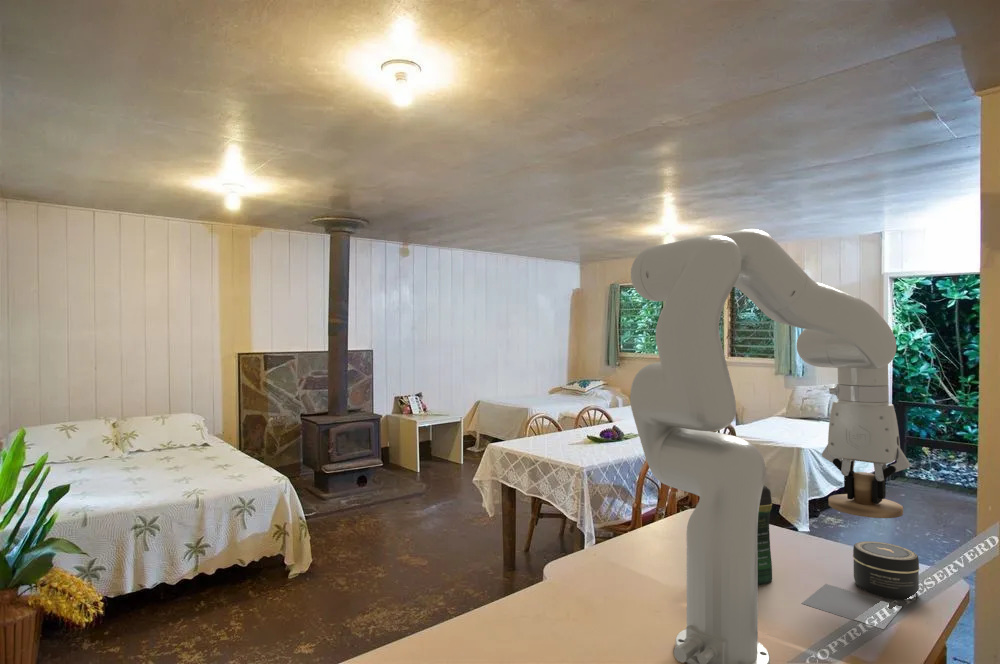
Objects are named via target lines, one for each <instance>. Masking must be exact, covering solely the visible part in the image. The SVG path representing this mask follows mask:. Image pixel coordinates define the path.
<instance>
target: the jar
mask: <svg viewBox="0 0 1000 664" xmlns="http://www.w3.org/2000/svg"><path fill="white" fill-rule="evenodd" d="M852 547H853V551H852V553H853V554H852V558H853V579H854V582H855V585H856V586H857V587H858V589H860V590H861V591H864V592H865V593H868V594H871V595H873V596H877V597H879V598H883V599H888V598H889V599H890V600H896V601H905V600H904V599H907V598H909V597H910V596H912V595H914V594H915V593H916V592H917V591H918V592H919V586H920V583H919V582H920V581H919V580H920V579H919V578H920V576H919V574H920V573H919V571H920V563H919V562H920V561H919V556H918V554H916V552H914V551H913V550H911V549H908V548H906V547H903V546H899V545H897V544H893V543H888V542H881V541H871V540H870V541H864V540H863V541H859V542H855V544H854V545H853V546H852ZM889 599H888V600H889Z"/></svg>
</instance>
